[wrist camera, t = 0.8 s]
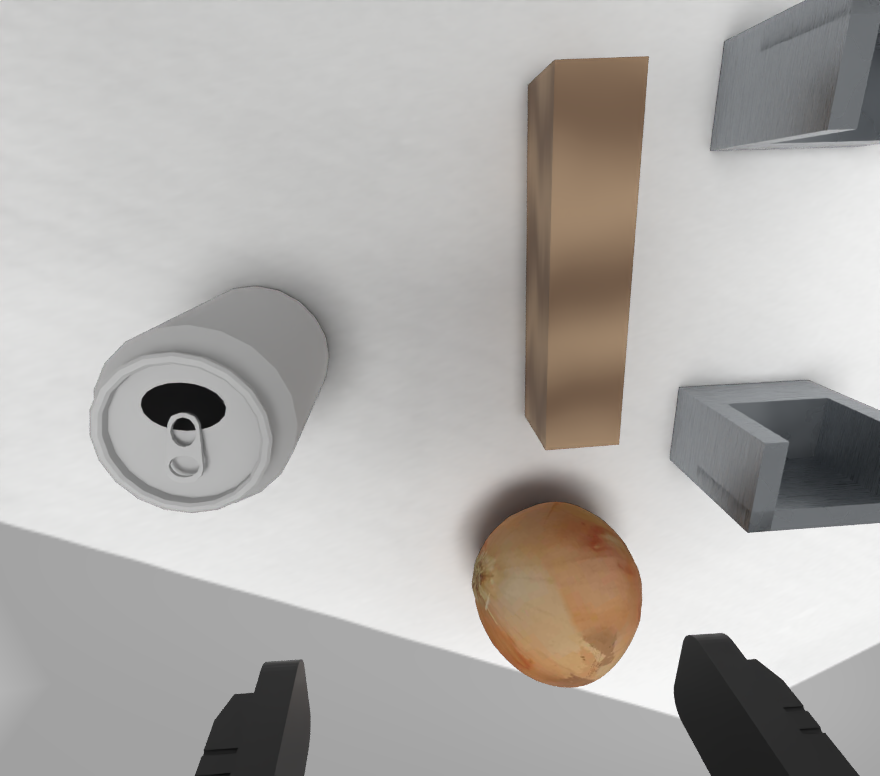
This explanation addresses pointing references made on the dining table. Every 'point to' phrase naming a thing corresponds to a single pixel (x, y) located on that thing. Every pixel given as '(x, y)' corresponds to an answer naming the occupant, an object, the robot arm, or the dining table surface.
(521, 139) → the dining table surface
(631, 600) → the onion
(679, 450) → the cup brackets
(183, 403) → the can
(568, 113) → the rail
